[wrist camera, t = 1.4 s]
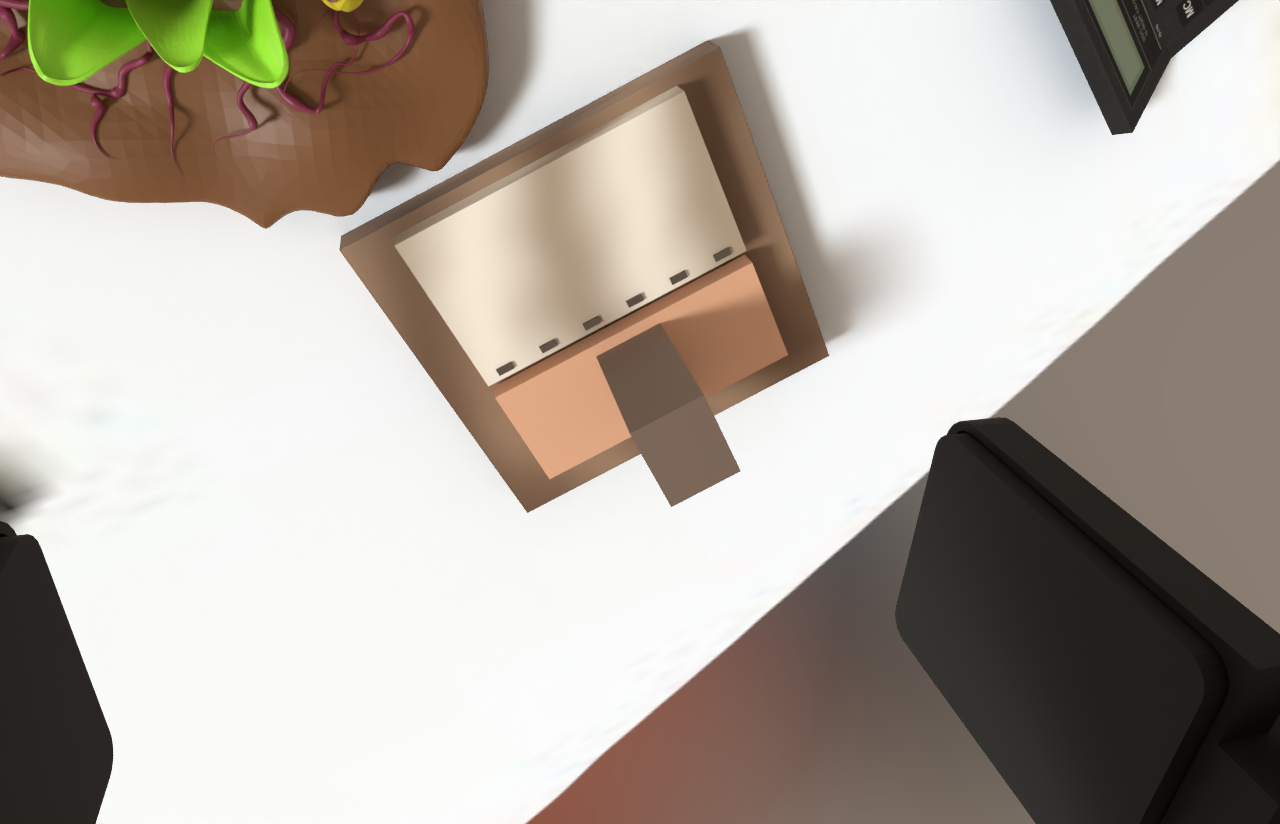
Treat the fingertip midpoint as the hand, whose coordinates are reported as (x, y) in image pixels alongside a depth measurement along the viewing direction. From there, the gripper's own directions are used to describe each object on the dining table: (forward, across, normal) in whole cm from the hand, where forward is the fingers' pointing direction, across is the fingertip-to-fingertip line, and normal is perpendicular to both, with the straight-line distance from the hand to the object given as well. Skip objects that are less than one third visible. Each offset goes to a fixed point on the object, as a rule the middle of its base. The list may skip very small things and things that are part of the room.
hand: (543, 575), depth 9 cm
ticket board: (+27, -7, +8) cm, 29 cm away
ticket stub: (+25, -8, +11) cm, 29 cm away
